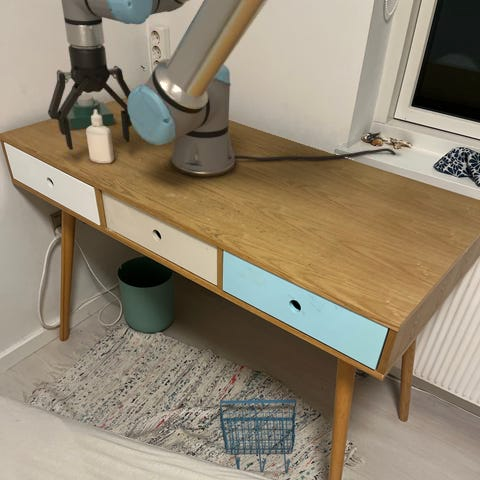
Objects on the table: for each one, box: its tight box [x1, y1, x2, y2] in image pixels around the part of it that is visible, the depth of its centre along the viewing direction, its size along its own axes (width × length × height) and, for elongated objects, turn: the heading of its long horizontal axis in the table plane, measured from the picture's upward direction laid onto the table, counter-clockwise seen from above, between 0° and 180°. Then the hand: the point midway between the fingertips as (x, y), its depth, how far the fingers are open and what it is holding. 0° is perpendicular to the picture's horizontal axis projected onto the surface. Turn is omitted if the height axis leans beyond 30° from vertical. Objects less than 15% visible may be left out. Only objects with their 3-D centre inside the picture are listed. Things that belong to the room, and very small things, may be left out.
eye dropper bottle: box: [85, 109, 115, 164], centre depth 119 cm, size 4×6×12 cm
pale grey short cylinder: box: [77, 93, 94, 106], centre depth 138 cm, size 4×4×2 cm
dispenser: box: [59, 98, 115, 131], centre depth 140 cm, size 12×10×5 cm
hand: (98, 143), depth 120 cm, fingers open, 13 cm apart
